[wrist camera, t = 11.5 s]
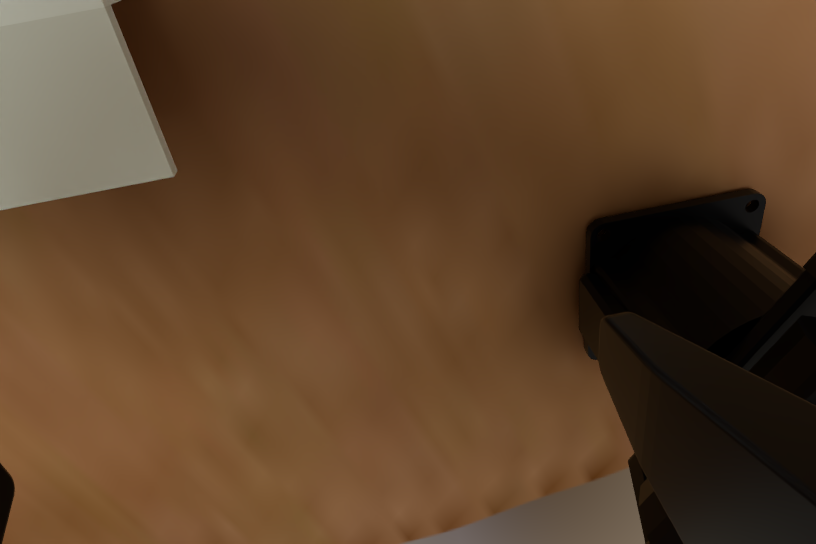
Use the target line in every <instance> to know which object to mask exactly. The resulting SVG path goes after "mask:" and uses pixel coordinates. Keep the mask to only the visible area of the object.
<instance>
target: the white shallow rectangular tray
mask: <svg viewBox="0 0 816 544" xmlns="http://www.w3.org/2000/svg"><path fill="white" fill-rule="evenodd" d="M118 1H121V0H0V210H5V209H10V208H15V207H20V206H25V205H31V204H36V203H41V202H46V201H51V200H56V199H62V198H67V197H72V196H77V195H82V194H88V193H93V192H98V191H103V190H108V189H113V188H119V187H124V186H129V185H134V184H139V183H144V182H150V181H155V180H160V179H165V178H170V177H174V176H175V174H176V173H177V168H176V166H175V163H174V161H173V158H172V156H171V153H170V151H169V148H168V146H167V143H166V141H165V138H164V136H163V133H162V131H161V128H160V126H159V123H158V121H157V119H156V116H155V114H154V111H153V109H152V106H151V104H150V101H149V99H148V96H147V94H146V91H145V89H144V86H143V84H142V81H141V79H140V76H139V74H138V71H137V69H136V66H135V64H134V62H133V59H132V57H131V54H130V52H129V49H128V47H127V44H126V42H125V39H124V37H123V34H122V32H121V29H120V27H119V24H118V22H117V19H116V17H115V14H114V12H113V9H112V7H111V4H113V3H116V2H118Z"/></svg>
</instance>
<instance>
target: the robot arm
mask: <svg viewBox="0 0 816 544" xmlns="http://www.w3.org/2000/svg"><path fill="white" fill-rule="evenodd" d="M750 201H752V202H751V204H750V205H749V206H747V207H746V205H747V204H748V203H749V202H750ZM765 204H766V199H765V197H764V195H762V194H760V193H759V192H757V191H756V190H753V189H746V190H741V191H736V192H731V193H726V194H721V195H716V196H710V197H705V198H700V199H695V200H690V201H685V202H680V203H675V204H670V205H665V206H660V207H655V208H650V209H645V210H639V211H634V212H629V213H624V214H619V215H614V216H609V217H604V218H599V219H597V220H594V221H593V222H592V223H591V224H590V225H589V226H588V228H587V232H586V272H585V274H583V275H582V277H581V279H580V280H579V330H580V332H581V333H582V335H583V337H584V348H585V351H586V353H587V354H588V356H589V357H590V358H591V359H594V360H598V361H599V366H600V370H601V374H602V376H603V379H604V381H605V383H606V386H607V388H608V391H609V393H610V395H611V398H612V400H613V402H614V405H615V407H616V410H617V412H618V414H619V417H620V419H621V421H622V424H623V426H624V429H625V431H626V433H627V436H628V438H629V440H630V443H631V445H632V448H633V450H634V452H635V453H634V454H633V455H632V456H631V457H630V459H629V460H628V464H629V468H630V473H631V478H632V482H633V487H634V491H635V496H636V501H637V506H638V510H639V515H640V519H641V524H642V529H643V534H644V538H645V544H816V253H815V254H814V255H813V256H812V257H811V258H810V259H809V261H808V262H807V263H806V264H805V265H804V266H803V268H802V267H801V266H799V265H798V264H797V263H795V262H794V261H793V260H791V259H790V258H789V257H787V256H786V255H785V254H783V253H782V252H781V251H779V250H778V249H776V248H775V247H774V246H772V245H771V244H770V243H768V242H767V241H766V240H764V239H763V238H762V237H760V236H759V233H760V228H761V223H762V219H763V214H764V209H765ZM604 229H606V232H605V233H604V234H603V235H601V236H597V235H598V233H599V232H600V231H601V230H604ZM14 491H15V487H14V481H13V479H12V477H11V475H10V474H9V473H8V472H7V470H6V469H5V468H4V467H3V466H2V464H1V463H0V544H2V541H3V537H4V533H5V529H6V525H7V521H8V517H9V513H10V509H11V505H12V501H13V497H14Z"/></svg>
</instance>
